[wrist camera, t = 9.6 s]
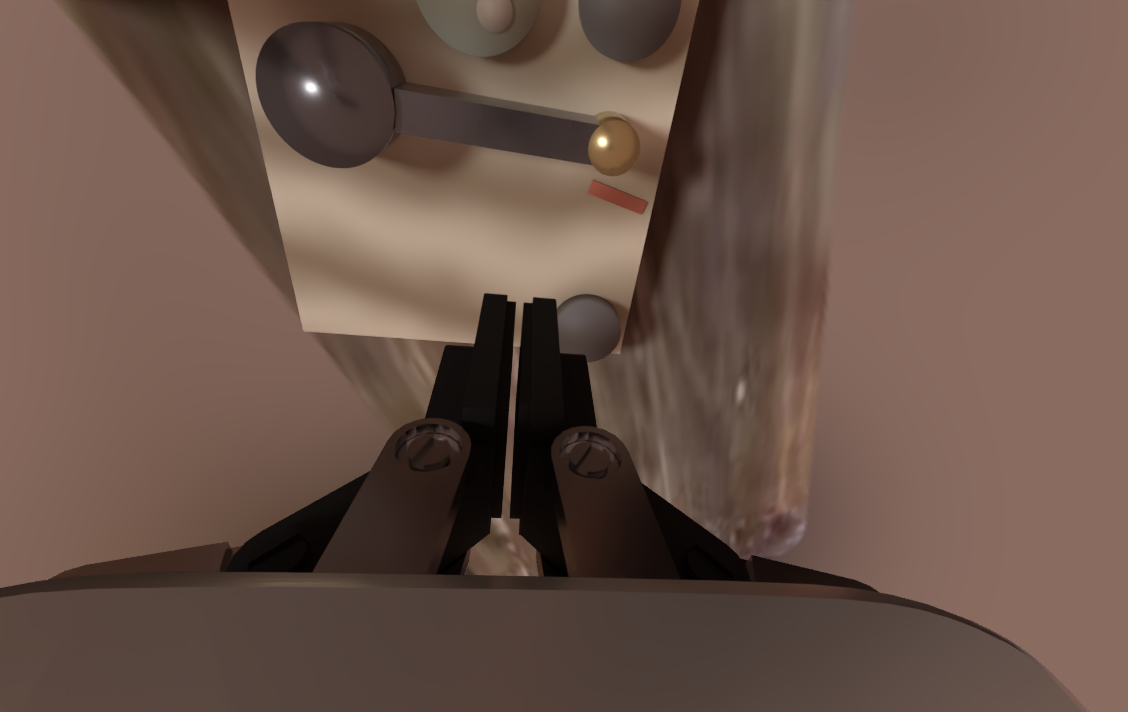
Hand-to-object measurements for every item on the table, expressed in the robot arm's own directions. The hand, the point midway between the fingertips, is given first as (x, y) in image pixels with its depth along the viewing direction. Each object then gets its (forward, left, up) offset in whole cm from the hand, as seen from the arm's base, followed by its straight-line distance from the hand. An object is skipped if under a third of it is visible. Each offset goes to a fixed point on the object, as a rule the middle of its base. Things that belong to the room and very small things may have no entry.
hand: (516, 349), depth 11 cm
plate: (0, -3, -17) cm, 17 cm away
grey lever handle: (-3, -3, -15) cm, 15 cm away
